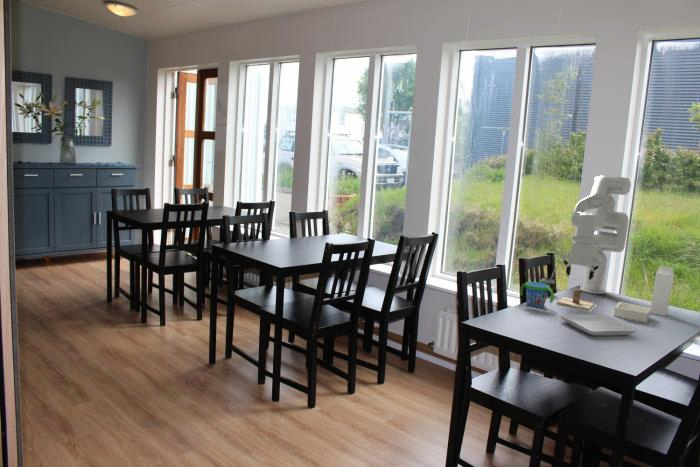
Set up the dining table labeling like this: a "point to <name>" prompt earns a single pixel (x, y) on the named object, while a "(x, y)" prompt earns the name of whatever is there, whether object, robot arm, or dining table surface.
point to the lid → (576, 301)
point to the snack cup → (536, 293)
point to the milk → (662, 290)
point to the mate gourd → (549, 282)
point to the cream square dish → (632, 312)
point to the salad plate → (597, 324)
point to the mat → (579, 309)
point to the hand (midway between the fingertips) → (579, 277)
